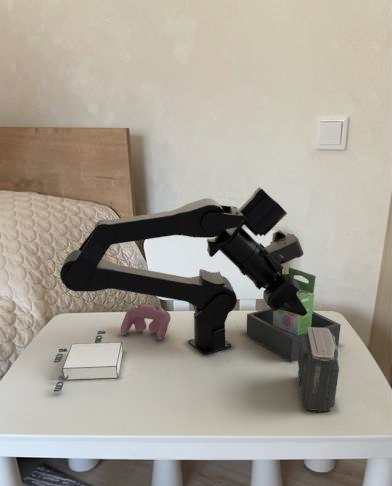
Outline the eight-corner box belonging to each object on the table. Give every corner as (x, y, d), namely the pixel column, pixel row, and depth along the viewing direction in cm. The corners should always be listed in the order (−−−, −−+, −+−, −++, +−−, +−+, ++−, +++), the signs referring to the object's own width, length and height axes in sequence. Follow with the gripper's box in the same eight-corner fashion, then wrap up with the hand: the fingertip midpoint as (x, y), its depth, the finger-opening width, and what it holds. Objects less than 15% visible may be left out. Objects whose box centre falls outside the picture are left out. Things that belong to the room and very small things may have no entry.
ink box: (271, 333, 105) (275, 270, 99) (284, 328, 107) (289, 266, 102) (296, 345, 100) (302, 280, 94) (310, 340, 102) (316, 275, 97)
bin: (246, 334, 107) (246, 313, 105) (291, 321, 112) (292, 301, 110) (291, 361, 96) (292, 339, 94) (338, 345, 101) (340, 324, 99)
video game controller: (170, 341, 108) (174, 307, 108) (162, 340, 104) (166, 305, 104) (127, 335, 111) (131, 302, 111) (117, 334, 107) (122, 300, 107)
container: (114, 394, 87) (113, 380, 86) (46, 397, 87) (43, 383, 86) (125, 341, 105) (124, 329, 104) (68, 343, 105) (66, 331, 104)
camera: (335, 414, 80) (342, 357, 76) (298, 412, 81) (302, 356, 77) (329, 377, 91) (334, 325, 86) (295, 375, 91) (299, 324, 87)
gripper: (291, 235, 85) (349, 294, 91) (266, 210, 102) (315, 262, 107) (243, 282, 88) (301, 337, 93) (225, 251, 104) (276, 299, 110)
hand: (299, 306), depth 101 cm, fingers closed on ink box, 8 cm apart
